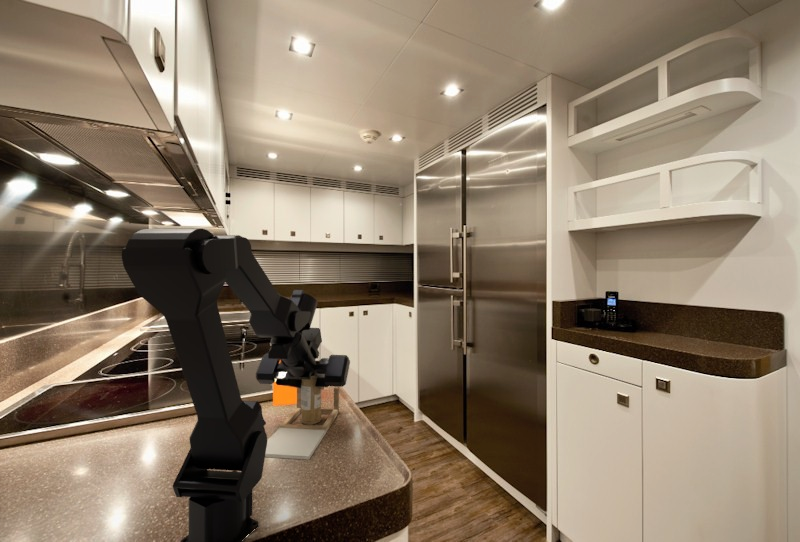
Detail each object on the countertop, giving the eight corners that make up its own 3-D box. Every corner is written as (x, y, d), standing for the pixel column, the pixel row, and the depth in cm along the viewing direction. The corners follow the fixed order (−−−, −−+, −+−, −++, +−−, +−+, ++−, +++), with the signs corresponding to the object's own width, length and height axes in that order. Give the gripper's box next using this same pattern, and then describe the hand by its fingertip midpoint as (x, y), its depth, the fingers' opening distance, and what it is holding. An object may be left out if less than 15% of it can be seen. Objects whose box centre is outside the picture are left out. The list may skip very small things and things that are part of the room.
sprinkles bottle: (324, 422, 72) (324, 361, 72) (304, 427, 70) (304, 365, 70) (317, 414, 76) (317, 357, 76) (297, 419, 74) (298, 360, 74)
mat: (309, 459, 58) (309, 456, 58) (255, 456, 59) (255, 453, 59) (326, 431, 68) (326, 429, 68) (280, 429, 69) (280, 426, 69)
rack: (325, 432, 68) (325, 404, 68) (279, 430, 68) (279, 402, 68) (338, 412, 78) (339, 387, 78) (298, 410, 78) (298, 385, 78)
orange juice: (276, 394, 88) (276, 321, 88) (310, 391, 91) (310, 320, 91) (272, 406, 81) (273, 325, 81) (309, 402, 83) (309, 324, 83)
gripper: (348, 318, 68) (359, 356, 79) (262, 316, 70) (285, 354, 81) (337, 366, 60) (351, 402, 71) (241, 363, 62) (269, 398, 73)
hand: (313, 387), depth 74 cm, fingers closed on sprinkles bottle, 4 cm apart
